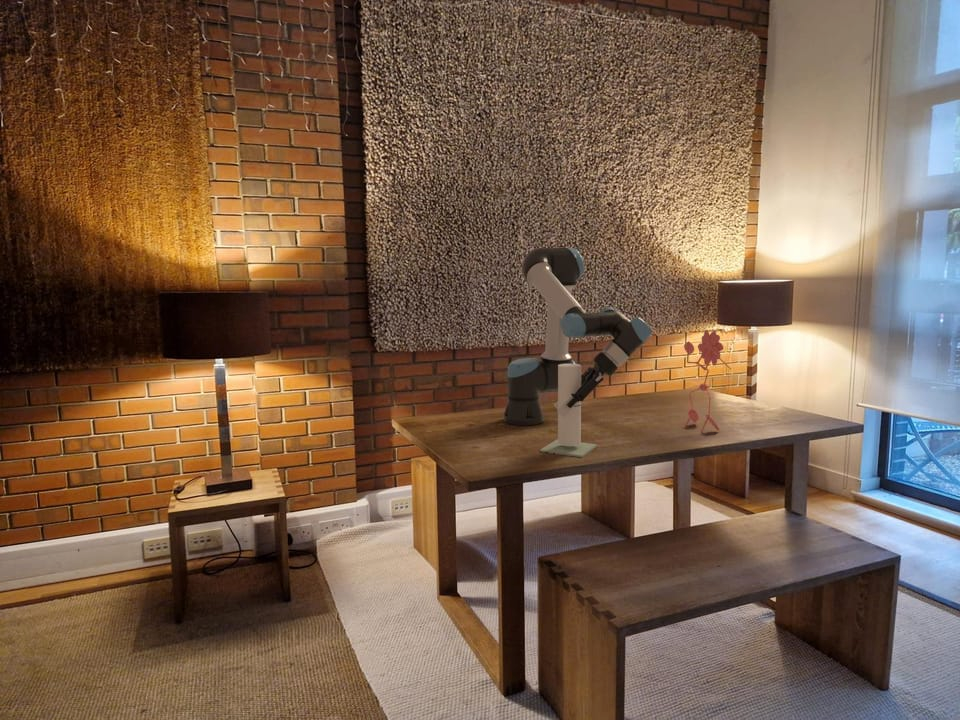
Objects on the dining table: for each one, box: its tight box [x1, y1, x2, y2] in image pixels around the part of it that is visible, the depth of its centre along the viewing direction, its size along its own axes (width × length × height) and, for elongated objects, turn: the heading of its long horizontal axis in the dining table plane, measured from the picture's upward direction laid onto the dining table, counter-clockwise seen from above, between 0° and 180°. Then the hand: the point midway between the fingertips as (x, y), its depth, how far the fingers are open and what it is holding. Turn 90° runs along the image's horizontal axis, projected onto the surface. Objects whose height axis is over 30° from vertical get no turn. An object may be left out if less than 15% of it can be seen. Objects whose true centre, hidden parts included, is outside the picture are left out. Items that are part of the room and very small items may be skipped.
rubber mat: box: [539, 438, 598, 458], centre depth 203 cm, size 14×14×1 cm
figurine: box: [683, 329, 732, 433], centre depth 226 cm, size 15×26×35 cm, turn 17°
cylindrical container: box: [557, 363, 582, 446], centre depth 201 cm, size 7×7×25 cm
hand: (558, 410), depth 201 cm, fingers closed on cylindrical container, 7 cm apart
